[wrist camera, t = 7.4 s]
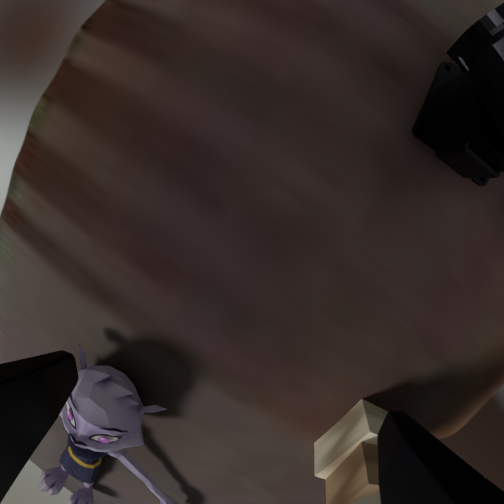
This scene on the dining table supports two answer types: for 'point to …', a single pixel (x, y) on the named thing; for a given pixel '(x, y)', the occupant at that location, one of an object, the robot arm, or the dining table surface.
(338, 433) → the base block
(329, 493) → the top block
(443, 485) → the robot arm
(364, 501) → the grey rounded cylinder
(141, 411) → the toy
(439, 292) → the dining table surface
